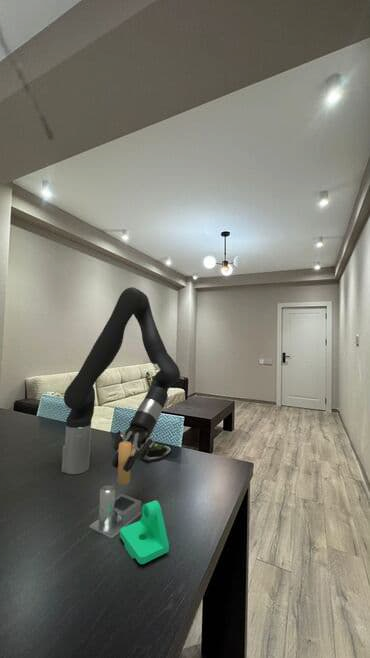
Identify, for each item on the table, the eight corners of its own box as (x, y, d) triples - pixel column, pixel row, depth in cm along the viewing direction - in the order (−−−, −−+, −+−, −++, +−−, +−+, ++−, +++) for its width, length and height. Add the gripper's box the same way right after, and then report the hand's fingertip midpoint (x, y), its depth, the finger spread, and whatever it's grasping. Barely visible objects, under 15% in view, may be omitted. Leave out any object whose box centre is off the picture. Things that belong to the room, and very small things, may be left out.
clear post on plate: (120, 504, 89) (122, 470, 90) (141, 513, 86) (143, 477, 86) (89, 527, 79) (91, 488, 79) (111, 538, 75) (113, 497, 75)
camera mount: (118, 539, 75) (120, 499, 75) (144, 528, 79) (146, 490, 80) (140, 570, 65) (142, 524, 66) (168, 556, 70) (170, 513, 70)
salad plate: (116, 455, 126) (117, 445, 126) (141, 443, 142) (141, 433, 142) (153, 466, 117) (154, 455, 117) (175, 451, 133) (175, 441, 133)
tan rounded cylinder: (116, 484, 82) (117, 445, 83) (118, 478, 86) (120, 441, 86) (128, 484, 83) (130, 446, 83) (130, 478, 86) (132, 441, 86)
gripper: (124, 406, 95) (95, 457, 84) (160, 413, 88) (133, 469, 77) (134, 419, 99) (107, 468, 88) (169, 426, 92) (144, 481, 81)
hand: (119, 468), depth 83 cm, fingers closed on tan rounded cylinder, 3 cm apart
